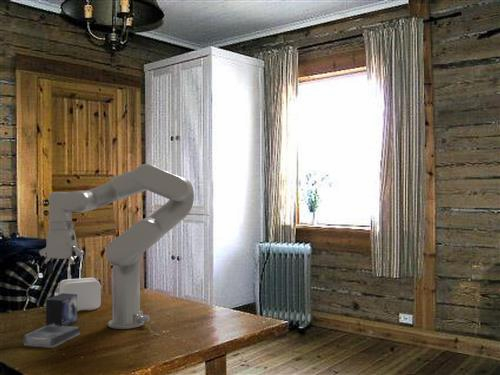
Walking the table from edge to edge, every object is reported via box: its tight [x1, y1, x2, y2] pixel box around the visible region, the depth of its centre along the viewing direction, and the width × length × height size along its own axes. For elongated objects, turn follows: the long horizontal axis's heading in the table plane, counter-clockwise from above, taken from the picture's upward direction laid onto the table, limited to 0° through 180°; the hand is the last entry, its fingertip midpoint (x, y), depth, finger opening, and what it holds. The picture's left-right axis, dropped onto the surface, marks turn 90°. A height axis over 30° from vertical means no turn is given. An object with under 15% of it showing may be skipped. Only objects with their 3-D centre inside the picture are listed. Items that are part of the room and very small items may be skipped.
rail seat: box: [23, 323, 81, 349], centre depth 164 cm, size 10×14×3 cm
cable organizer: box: [58, 277, 102, 312], centre depth 206 cm, size 15×11×12 cm
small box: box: [45, 293, 78, 327], centre depth 180 cm, size 11×6×10 cm, turn 168°
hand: (61, 274), depth 181 cm, fingers open, 9 cm apart
